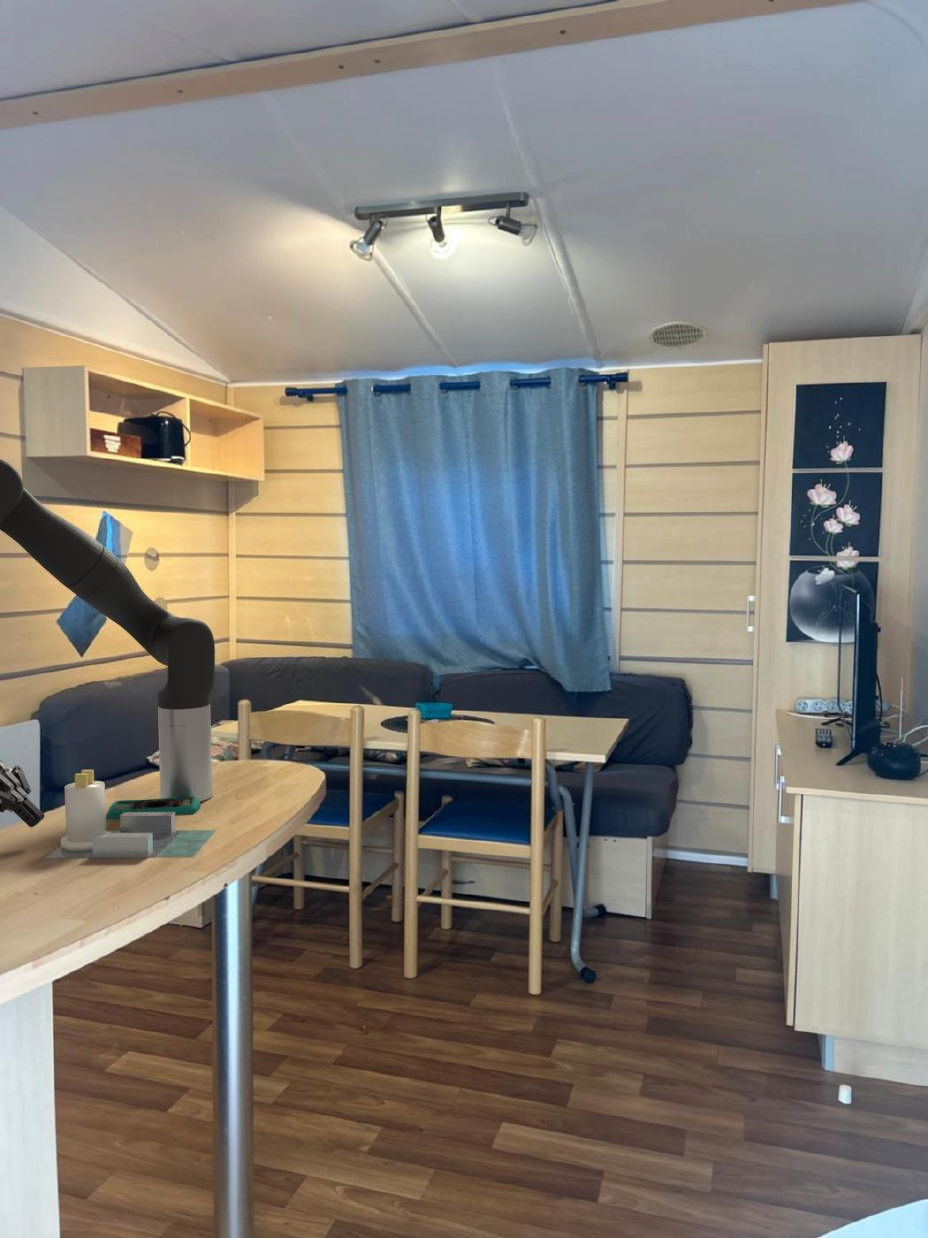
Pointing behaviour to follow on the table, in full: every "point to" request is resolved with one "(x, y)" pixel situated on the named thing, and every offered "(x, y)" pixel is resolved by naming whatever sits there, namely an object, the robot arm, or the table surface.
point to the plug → (84, 812)
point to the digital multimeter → (155, 806)
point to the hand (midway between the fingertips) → (38, 822)
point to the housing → (143, 839)
